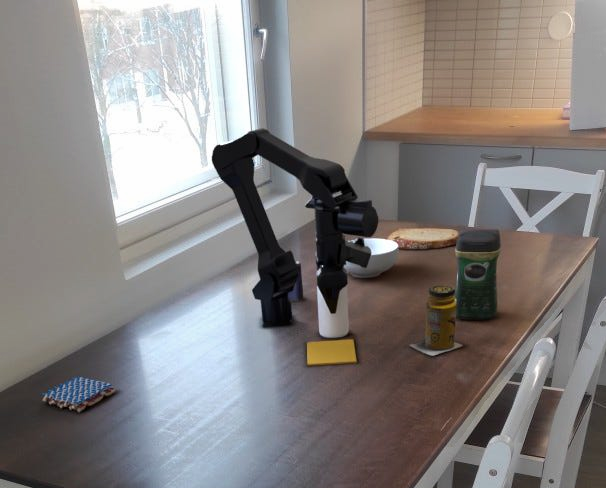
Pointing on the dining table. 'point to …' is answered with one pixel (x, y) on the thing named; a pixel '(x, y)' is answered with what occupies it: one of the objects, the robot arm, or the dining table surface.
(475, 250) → the coffee jar
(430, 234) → the slice of bread
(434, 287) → the condiment
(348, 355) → the cloth
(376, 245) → the cereal bowl
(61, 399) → the woven mat
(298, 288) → the flask
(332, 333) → the can
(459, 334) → the dining table surface
